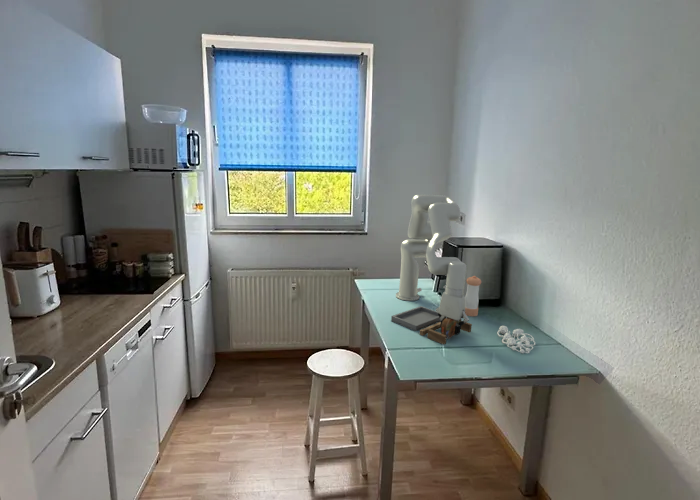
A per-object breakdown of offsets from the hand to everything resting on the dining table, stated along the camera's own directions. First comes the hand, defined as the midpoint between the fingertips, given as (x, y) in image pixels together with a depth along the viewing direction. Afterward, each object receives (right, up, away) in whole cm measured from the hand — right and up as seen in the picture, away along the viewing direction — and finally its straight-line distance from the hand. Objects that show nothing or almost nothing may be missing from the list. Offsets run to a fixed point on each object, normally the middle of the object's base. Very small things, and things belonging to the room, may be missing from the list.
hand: (450, 331), depth 173 cm
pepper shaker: (+16, +3, +26) cm, 31 cm away
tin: (0, -2, 0) cm, 2 cm away
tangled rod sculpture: (+27, -4, -4) cm, 27 cm away
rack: (-1, -1, +2) cm, 3 cm away
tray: (-11, +2, +14) cm, 18 cm away
